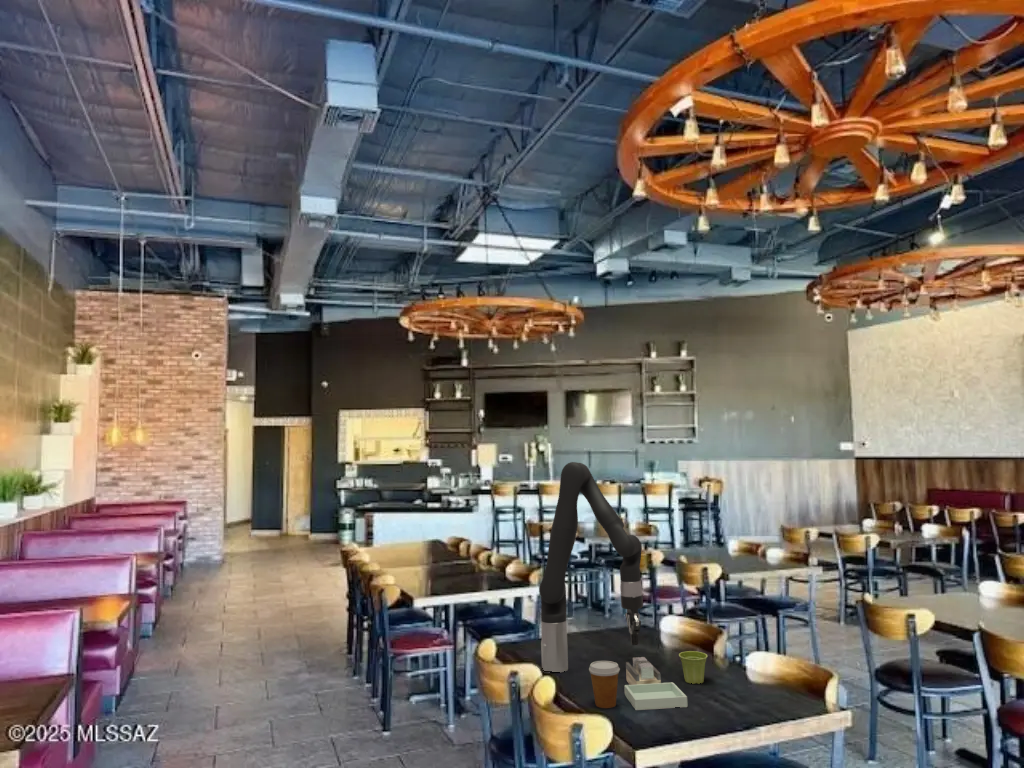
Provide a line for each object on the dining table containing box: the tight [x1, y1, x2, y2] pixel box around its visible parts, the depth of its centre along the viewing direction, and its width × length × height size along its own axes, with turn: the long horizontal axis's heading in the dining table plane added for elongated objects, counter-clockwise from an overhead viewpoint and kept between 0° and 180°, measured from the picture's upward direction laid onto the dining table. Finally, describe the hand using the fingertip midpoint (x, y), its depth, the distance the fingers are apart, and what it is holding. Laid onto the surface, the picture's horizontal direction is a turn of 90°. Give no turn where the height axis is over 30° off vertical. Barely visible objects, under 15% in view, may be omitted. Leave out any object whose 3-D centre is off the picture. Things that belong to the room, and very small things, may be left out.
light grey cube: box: [632, 656, 649, 673], centre depth 242 cm, size 4×4×4 cm
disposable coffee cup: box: [588, 660, 621, 709], centre depth 223 cm, size 10×10×12 cm
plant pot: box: [678, 650, 708, 685], centre depth 242 cm, size 9×9×9 cm
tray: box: [623, 682, 688, 711], centre depth 225 cm, size 16×14×3 cm
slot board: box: [625, 660, 662, 685], centre depth 239 cm, size 8×14×6 cm, turn 5°
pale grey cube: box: [638, 662, 654, 680], centre depth 235 cm, size 4×4×4 cm
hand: (634, 644), depth 251 cm, fingers closed
